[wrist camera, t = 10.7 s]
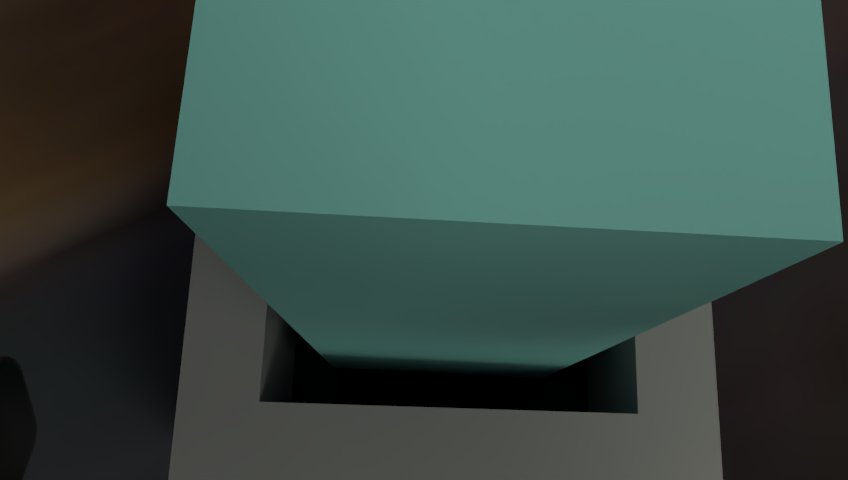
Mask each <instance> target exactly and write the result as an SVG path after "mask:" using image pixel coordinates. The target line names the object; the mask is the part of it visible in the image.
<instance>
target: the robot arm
mask: <svg viewBox="0 0 848 480" xmlns="http://www.w3.org/2000/svg"><path fill="white" fill-rule="evenodd" d="M36 437H37V422H36V417H35V414H34V410H33V407H32V403H31V400H30V396H29V393H28V389H27V386H26V382H25V379H24V375H23V372H22V369H21V367H20V365H19V363H18V362H17V361H16V360H15V359H13V358H11V357H7V356H0V480H22V479H23V476H24V473H25V471H26V468H27V465H28V462H29V460H30V457H31V454H32V452H33V449H34V446H35V442H36Z"/></svg>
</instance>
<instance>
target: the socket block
mask: <svg viewBox="0 0 848 480" xmlns="http://www.w3.org/2000/svg"><path fill="white" fill-rule="evenodd" d="M296 335H297V332H296V331H295V330H294V329H293V328H292V327H291V326H290V325H289V324H288V323H287V322H286V321H285V320H284V319H283V318H282V317H281V316H280V315H279V314H278V313H277V312H276V311H275V310H274V309H273V308H272V307H271V306H270V305H269V304H268V303H267V302H266V301H264V300H263V299H262V298H261V297H260V296H259V295H258V294H257V293H256V292H255V291H254V290H253V289H252V288H251V287H250V286H249V285H248V284H247V283H246V282H245V281H244V280H243V279H242V278H241V277H240V276H239V275H238V274H237V273H236V272H235V271H234V270H233V269H232V268H231V267H229V266H228V265H227V264H226V263H225V262H224V261H223V260H222V259H221V258H220V257H219V256H218V255H217V254H216V253H215V252H214V251H213V250H212V249H211V248H210V247H209V246H208V245H207V244H206V243H205V242H204V241H203V240H202V239H201V238H200V237H199V236H198V235H197V234H195V242H194V251H193V260H192V269H191V278H190V287H189V296H188V305H187V314H186V323H185V333H184V342H183V351H182V360H181V369H180V378H179V387H178V396H177V405H176V414H175V423H174V432H173V441H172V450H171V460H170V469H169V478H168V480H723V474H722V458H721V443H720V428H719V413H718V398H717V382H716V367H715V352H714V337H713V322H712V306H711V302H709V303H707V304H705V305H702V306H700V307H698V308H696V309H694V310H691V311H689V312H687V313H685V314H683V315H680V316H678V317H676V318H674V319H672V320H669V321H667V322H665V323H663V324H661V325H658V326H656V327H654V328H652V329H650V330H647V331H645V332H643V333H641V334H639V335H636V336H634V337H632V338H630V339H628V340H625V341H623V342H621V343H619V344H616V345H614V346H612V347H610V348H608V349H605V350H603V351H601V352H599V353H597V354H594V355H592V356H590V357H588V358H587V383H588V412H564V411H533V410H502V409H470V408H439V407H408V406H377V405H346V404H315V403H292V390H293V376H294V363H295V349H296Z"/></svg>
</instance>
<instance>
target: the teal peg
mask: <svg viewBox="0 0 848 480" xmlns="http://www.w3.org/2000/svg"><path fill="white" fill-rule="evenodd" d="M167 206H168V207H169V208H170V209H171V210H172V211H173V212H174V213H175V214H176V215H177V216H178V217H179V218H180V219H181V220H182V221H183V222H184V223H185V224H186V225H187V226H188V227H189V228H190V229H191V230H192V231H193V232H194V233H195V234H197V235H198V236H199V237H200V238H201V239H202V240H203V241H204V242H205V243H206V244H207V245H208V246H209V247H210V248H211V249H212V250H213V251H214V252H215V253H216V254H217V255H218V256H219V257H220V258H221V259H222V260H223V261H224V262H225V263H226V264H227V265H228V266H229V267H231V268H232V269H233V270H234V271H235V272H236V273H237V274H238V275H239V276H240V277H241V278H242V279H243V280H244V281H245V282H246V283H247V284H248V285H249V286H250V287H251V288H252V289H253V290H254V291H255V292H256V293H257V294H258V295H259V296H260V297H261V298H262V299H263V300H264V301H266V302H267V303H268V304H269V305H270V306H271V307H272V308H273V309H274V310H275V311H276V312H277V313H278V314H279V315H280V316H281V317H282V318H283V319H284V320H285V321H286V322H287V323H288V324H289V325H290V326H291V327H292V328H293V329H294V330H295V331H296V332H297V333H298V334H299V335H301V336H302V337H303V338H304V339H305V340H306V341H307V342H308V343H309V344H310V345H311V346H312V347H313V348H314V349H315V350H316V351H317V352H318V353H319V354H320V355H321V356H322V357H323V358H324V359H325V360H326V361H327V362H328V363H329V364H330V365H331V366H332V367H337V368H356V369H376V370H395V371H414V372H433V373H453V374H472V375H491V376H511V377H530V378H544V377H546V376H548V375H550V374H553V373H555V372H557V371H559V370H561V369H564V368H566V367H568V366H570V365H572V364H575V363H577V362H579V361H581V360H583V359H586V358H588V357H590V356H592V355H594V354H597V353H599V352H601V351H603V350H605V349H608V348H610V347H612V346H614V345H616V344H619V343H621V342H623V341H625V340H628V339H630V338H632V337H634V336H636V335H639V334H641V333H643V332H645V331H647V330H650V329H652V328H654V327H656V326H658V325H661V324H663V323H665V322H667V321H669V320H672V319H674V318H676V317H678V316H680V315H683V314H685V313H687V312H689V311H691V310H694V309H696V308H698V307H700V306H702V305H705V304H707V303H709V302H711V301H714V300H716V299H718V298H720V297H722V296H725V295H727V294H729V293H731V292H733V291H736V290H738V289H740V288H742V287H744V286H747V285H749V284H751V283H753V282H755V281H758V280H760V279H762V278H764V277H766V276H769V275H771V274H773V273H775V272H777V271H780V270H782V269H784V268H786V267H788V266H791V265H793V264H795V263H797V262H800V261H802V260H804V259H806V258H808V257H811V256H813V255H815V254H817V253H819V252H822V251H824V250H826V249H828V248H830V247H833V246H835V245H837V244H839V243H841V242H843V233H842V222H841V211H840V200H839V190H838V179H837V168H836V158H835V147H834V136H833V126H832V115H831V104H830V94H829V83H828V72H827V62H826V51H825V40H824V29H823V19H822V8H821V0H196V2H195V9H194V16H193V23H192V30H191V37H190V44H189V51H188V58H187V65H186V72H185V79H184V87H183V94H182V101H181V108H180V115H179V122H178V129H177V136H176V143H175V150H174V157H173V164H172V171H171V178H170V185H169V192H168V200H167Z"/></svg>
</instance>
